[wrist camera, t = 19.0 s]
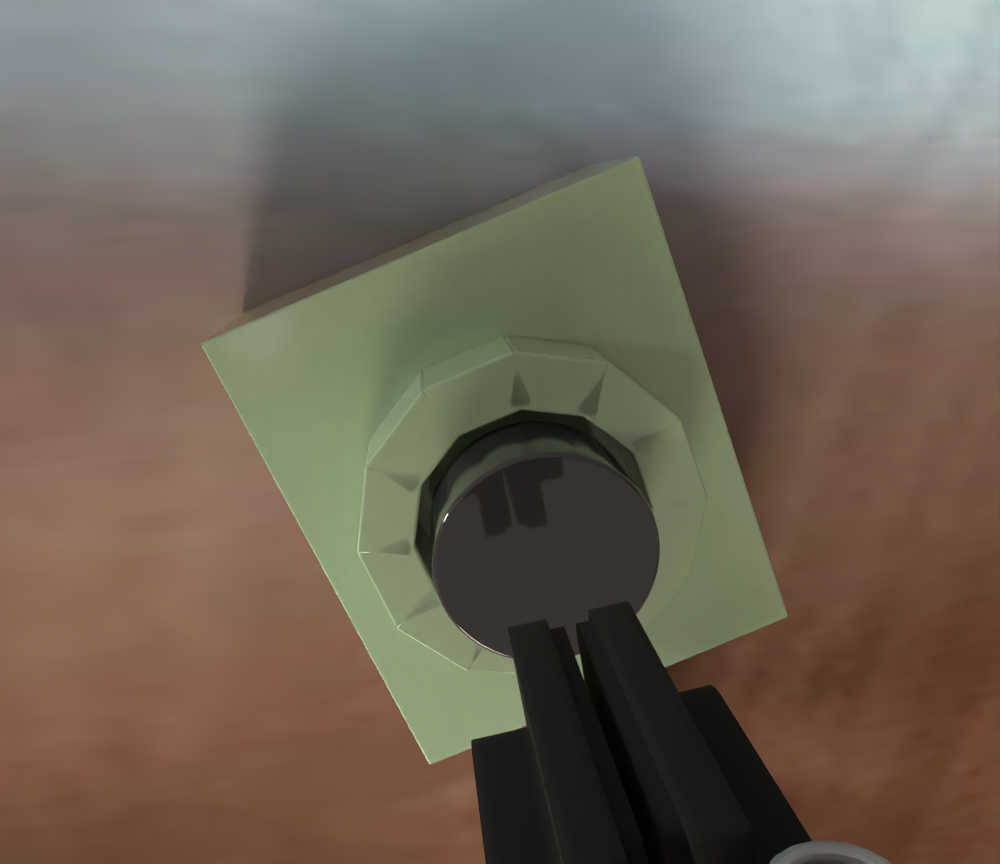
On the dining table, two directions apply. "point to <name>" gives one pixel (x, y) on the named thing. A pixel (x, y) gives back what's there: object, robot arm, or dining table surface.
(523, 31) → the dining table surface
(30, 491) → the dining table surface
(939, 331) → the dining table surface
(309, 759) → the dining table surface
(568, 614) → the dark grey button cap
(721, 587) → the button base
